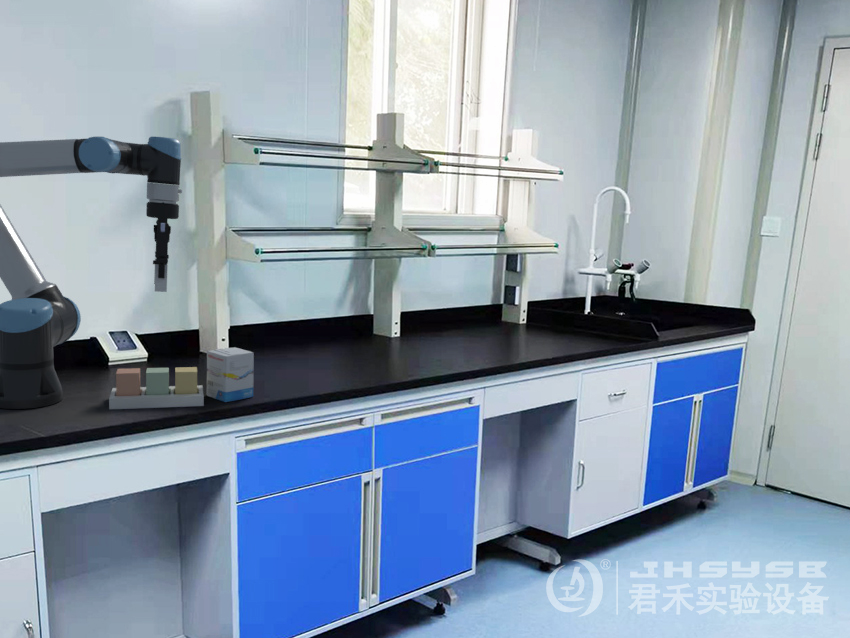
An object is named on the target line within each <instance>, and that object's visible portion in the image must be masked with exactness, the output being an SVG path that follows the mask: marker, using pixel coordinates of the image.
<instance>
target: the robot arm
mask: <svg viewBox="0 0 850 638" xmlns="http://www.w3.org/2000/svg"><path fill="white" fill-rule="evenodd" d="M181 152H182V150H181V142H180V140H178V139H177V138H171V137H165V136H149V138H148V142H147V143H145V144H144V143H133V142H126V141H119V140H115V139H111V138H108V137H105V136H91V137H88V138H79V139H78V138H70V139H50V140H49V139H48V140H47V139H45V140H27V141H26V140H24V141H22V140H21V141H5V142H4V141H3V142H2V141H1V142H0V178H7V177H8V178H9V177H10V178H11V177H12V178H13V177H26V176H27V177H29V176H45V175H46V176H47V175H48V176H49V175H62V174H63V175H65V174H93V173H107V174H120V175H133V176H134V175H137V176H143V177H144V176H147V179H146V181H147V183H146V199H147V200H148V201H147V202H146V213H145V215H146V216H147V218H154V219H156V221H155V223H156V224H153V234H154V236H153V237H154V238H153V239H154V242H155V251H154V254H155V255H154V257H155V258H154V260H153V259H152V265H154V280H153V281H154V292H158V293H159V292H162V293H167V291H168V290H167V289H168V267H169V266H168V263H169V257H170V256H169V253H168V252H169V251H168V247H169V244H168V243H170V239H171V238H170V237H171V236H170V234H171V233H172V232H171V231H172V230H171V229H172V226H171V225H170V224H169V222H168V219H169V220H177V219H179V216H180V215H179V214H180V211H179V210H180V205H179V204H178V202H179V201H180V194H182V193H183V190H182V189H180V184H181V183H180V181H181V180H180V179H181V164H182V155H181ZM0 279H1V281H2V284H3V285H4V286H5V288H6V289H7V292H8V293H9V294H10V296H11V299H10V300H7V301H3V302H2V303H0V409H5V410H6V409H7V410H26V409H34V408H35V409H36V408H41V407H48V406H51V405H54V404H57V403H59V402H61V401H62V400H63V399H64V396H63V395H64V394H63V393H64V392H63V387H62V384H61V382H60V379H59V377H58V375H57V374H58V373H57V372H56V370H55V365H54V364H55V363H54V347H56V346H57V345H61V344H63V343H65V342H68V341H69V340H70V339H71V338H72V337H73V336H74V335H76V334H77V332H78V330H79V328H80V325H81V319H82V318H81V317H82V316H81V312H80V309H79V307H78V305H77V304H76V303H75V302H74V300H72V299H71V298H69V297H66V296H64V295H63V294H62V292H61V291H60V289H59V287H58V286H57V284H56V283H53V282H50V281H47V279H46V278H45V277H44V275H43V273H42V272H41V269H40V268H39V266H38V265H37V263H36V262H35V260H34V258H33V257H32V255H31V253H30V252H29V249H28V248H27V246H26V245H25V243H24V241H23V239H22V238H21V236H20V235H19V233H18V232H17V230H16V228H15V226H14V224H13V223H12V222H11V219H10V218H9V217H8V215H7V213H6V211H5V210H4V208H3V206H2V204H0Z"/></svg>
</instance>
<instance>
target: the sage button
mask: <svg viewBox="0 0 850 638" xmlns="http://www.w3.org/2000/svg"><path fill="white" fill-rule="evenodd" d="M169 386H170V368H169V367H147V368H146V372H145V387H146V395H169Z"/></svg>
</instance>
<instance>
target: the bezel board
mask: <svg viewBox="0 0 850 638" xmlns="http://www.w3.org/2000/svg"><path fill="white" fill-rule="evenodd" d="M111 389H112V390H111V392H110V395H109V398H108V403H109V404H108V409H109V410H128V409H129V410H130V409H154V408H155V409H157V408H158V409H160V408H178V407H179V408H185V407H204V406H205V404H204V403H205V402H204V401H205V400H204V399H205V398H204V397H205V396H204V387H203V384H201V385H198V384H197V394H175V385H169V395H146V386H140V396H117V395H116V387H112V388H111Z"/></svg>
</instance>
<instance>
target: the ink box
mask: <svg viewBox="0 0 850 638" xmlns="http://www.w3.org/2000/svg"><path fill="white" fill-rule="evenodd" d="M254 353H255V352H254V351H251V350H246V349H242V348H239V347H236V346H234V347H225V348H216V349H213V350H207V351H206V396H207V397H210V398H212V399H215V400H218V401H221V402H224V403H227V402H228V403H229V402H234V401H239V400H243V399H245V400H246V399H249V398H253V397H254V374H255V373H254V372H255V371H254V368H255V367H254V364H255V363H254V361H255V360H254V359H255V358H254V357H255V355H254Z"/></svg>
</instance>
